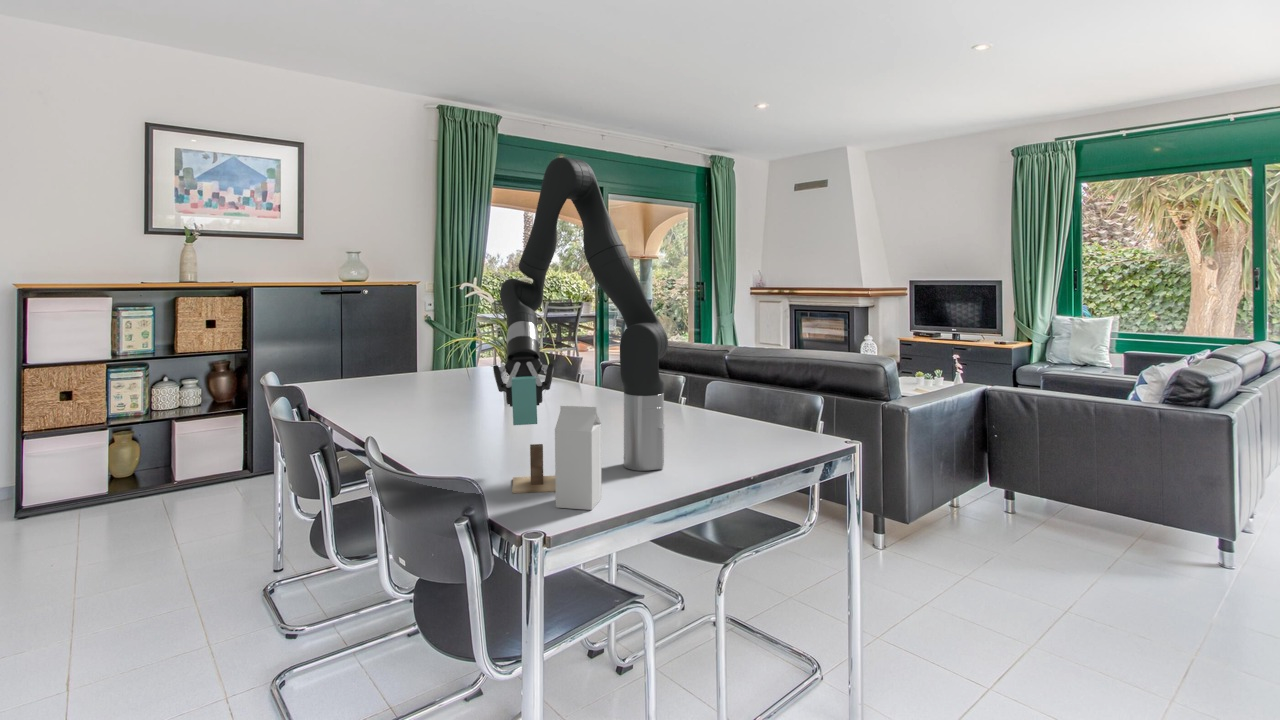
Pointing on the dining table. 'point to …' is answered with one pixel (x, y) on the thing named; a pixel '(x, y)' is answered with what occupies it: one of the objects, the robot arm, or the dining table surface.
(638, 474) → the dining table surface
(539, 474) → the post
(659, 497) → the dining table surface
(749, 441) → the dining table surface
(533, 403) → the tall teal foam brick
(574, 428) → the milk carton
